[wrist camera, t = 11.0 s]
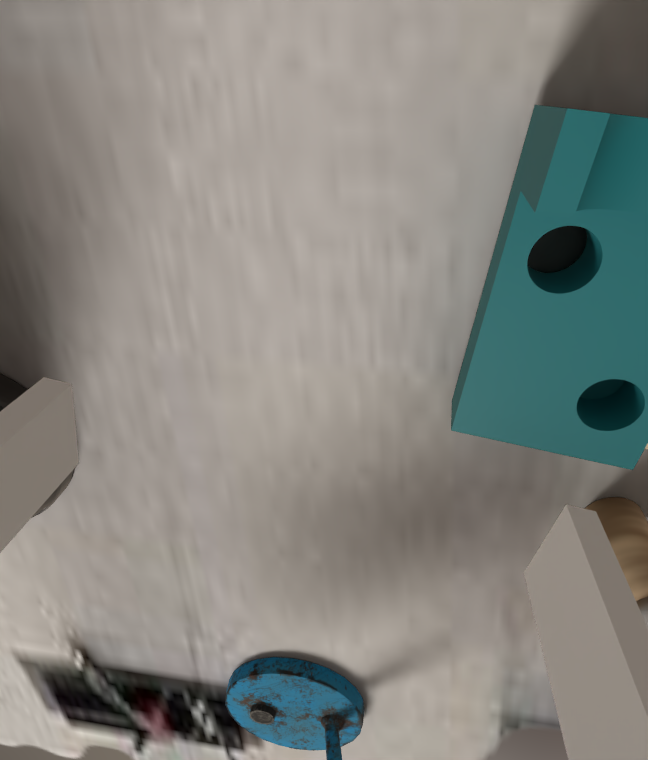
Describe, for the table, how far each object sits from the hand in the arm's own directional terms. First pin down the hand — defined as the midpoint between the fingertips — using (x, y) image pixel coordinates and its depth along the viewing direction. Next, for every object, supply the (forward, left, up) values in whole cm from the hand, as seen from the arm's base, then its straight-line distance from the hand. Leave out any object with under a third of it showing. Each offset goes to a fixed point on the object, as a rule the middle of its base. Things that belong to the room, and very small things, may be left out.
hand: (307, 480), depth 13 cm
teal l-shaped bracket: (+13, +2, -21) cm, 25 cm away
